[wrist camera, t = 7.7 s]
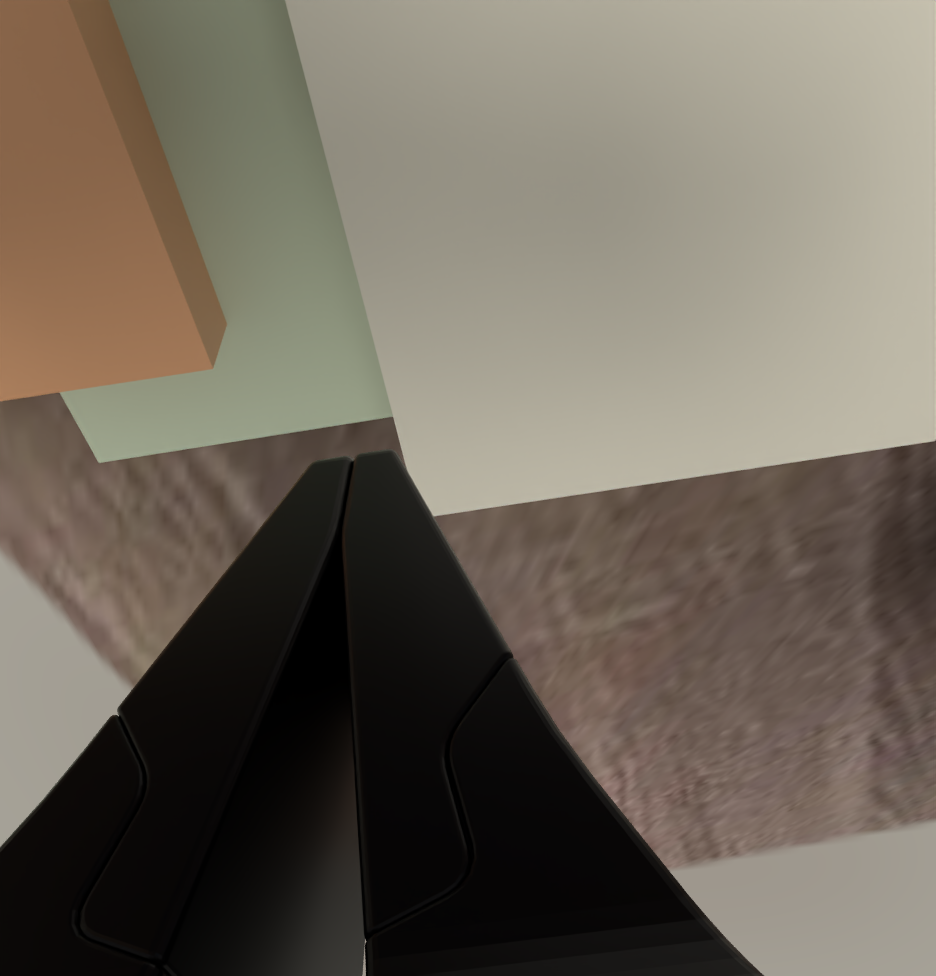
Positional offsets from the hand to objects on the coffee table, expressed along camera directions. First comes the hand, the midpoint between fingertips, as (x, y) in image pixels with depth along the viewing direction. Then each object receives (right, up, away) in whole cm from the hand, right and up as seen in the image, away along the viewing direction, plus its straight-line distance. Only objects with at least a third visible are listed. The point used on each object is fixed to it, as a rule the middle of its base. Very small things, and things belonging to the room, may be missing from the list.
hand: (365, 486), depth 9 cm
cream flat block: (+4, +9, +9) cm, 13 cm away
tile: (-8, +5, +8) cm, 13 cm away
